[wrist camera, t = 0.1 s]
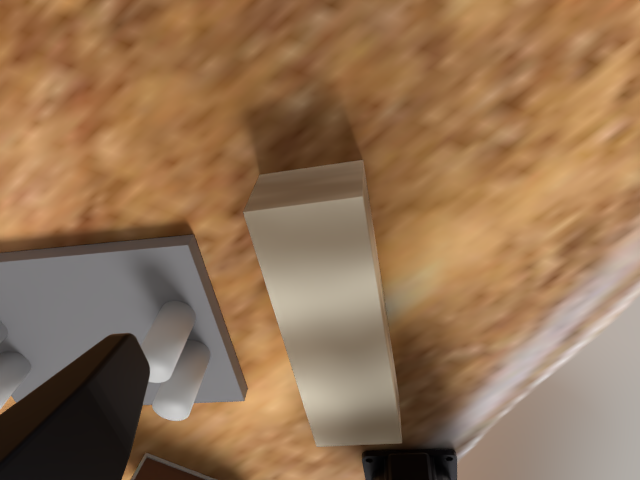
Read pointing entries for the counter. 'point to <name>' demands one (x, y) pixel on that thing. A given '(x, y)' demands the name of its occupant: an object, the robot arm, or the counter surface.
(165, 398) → the peg stand
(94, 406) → the robot arm
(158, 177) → the counter surface
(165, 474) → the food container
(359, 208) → the beige marbled block
